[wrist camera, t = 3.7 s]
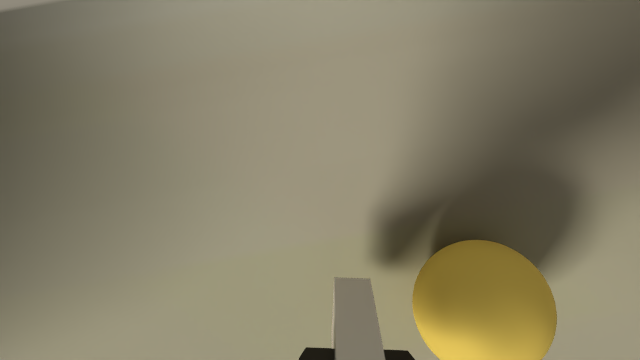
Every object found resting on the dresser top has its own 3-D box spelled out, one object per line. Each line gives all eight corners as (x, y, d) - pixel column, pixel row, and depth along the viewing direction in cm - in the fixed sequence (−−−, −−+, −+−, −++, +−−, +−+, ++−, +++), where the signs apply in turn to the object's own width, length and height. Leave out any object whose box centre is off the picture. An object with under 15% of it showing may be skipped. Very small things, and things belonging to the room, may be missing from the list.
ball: (396, 318, 20) (424, 413, 14) (406, 218, 18) (442, 283, 13) (504, 320, 20) (571, 415, 14) (523, 220, 18) (608, 287, 13)
